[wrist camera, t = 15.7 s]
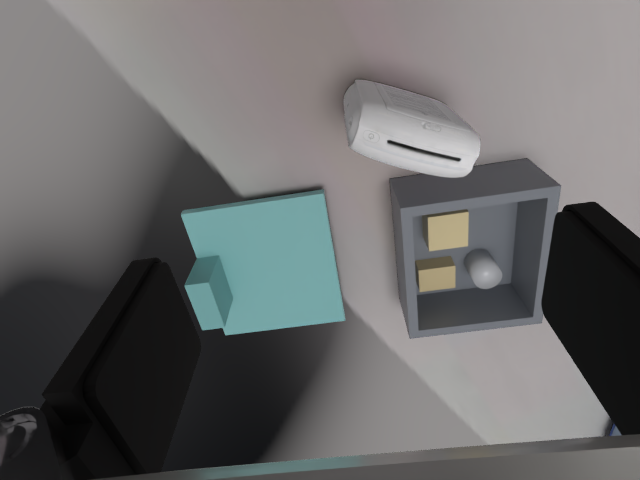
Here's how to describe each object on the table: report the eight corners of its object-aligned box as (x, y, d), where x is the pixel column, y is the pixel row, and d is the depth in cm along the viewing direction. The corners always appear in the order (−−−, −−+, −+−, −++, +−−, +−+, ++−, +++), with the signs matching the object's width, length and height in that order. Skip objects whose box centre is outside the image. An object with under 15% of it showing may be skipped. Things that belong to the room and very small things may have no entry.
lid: (187, 203, 46) (165, 238, 39) (323, 183, 45) (324, 216, 38) (229, 321, 54) (216, 366, 48) (344, 307, 53) (347, 350, 47)
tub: (389, 178, 44) (400, 208, 38) (527, 158, 43) (561, 185, 37) (399, 298, 52) (409, 338, 46) (515, 283, 51) (541, 323, 45)
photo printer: (336, 117, 41) (342, 162, 30) (349, 72, 39) (360, 102, 28) (435, 144, 42) (474, 196, 31) (453, 101, 40) (501, 141, 29)
